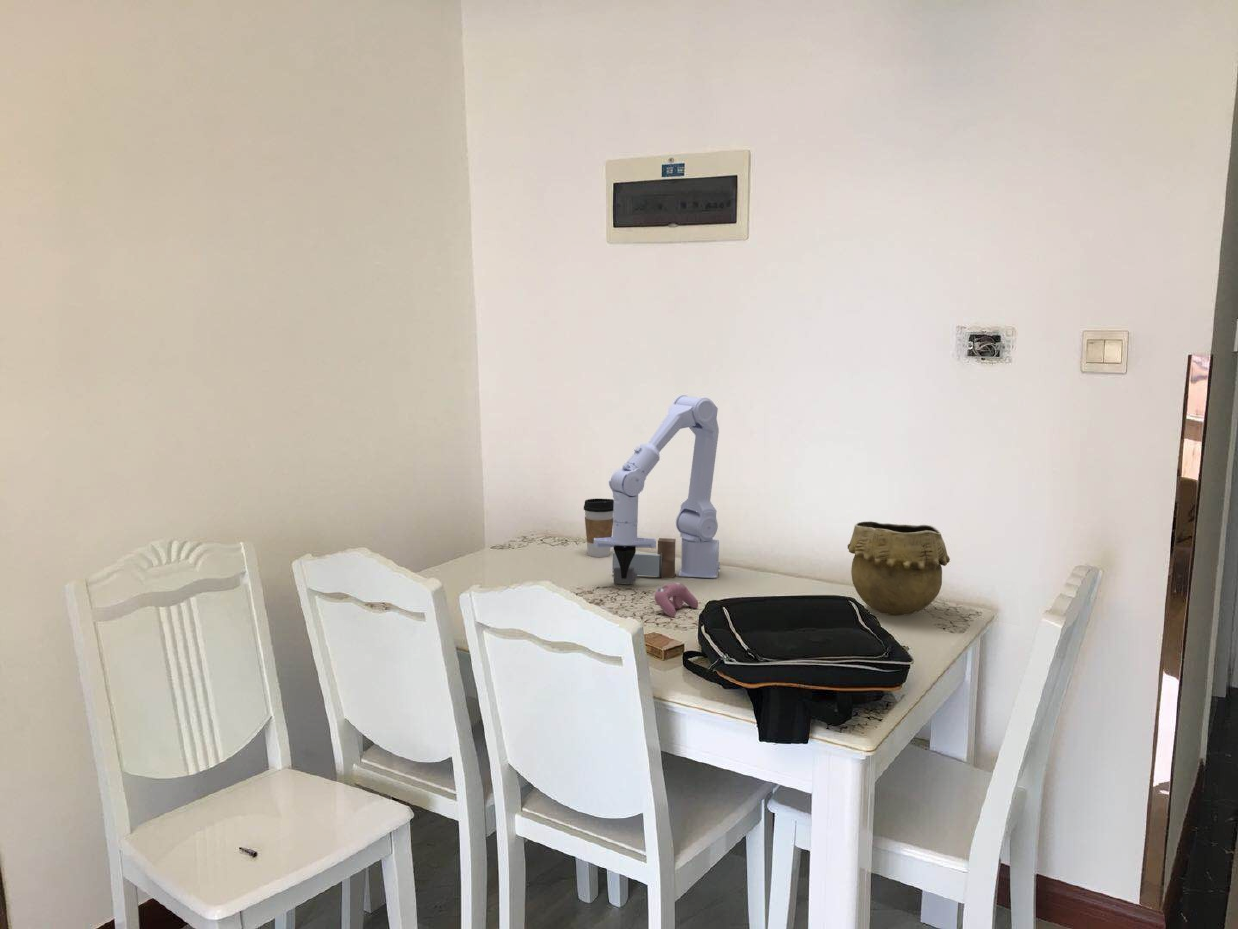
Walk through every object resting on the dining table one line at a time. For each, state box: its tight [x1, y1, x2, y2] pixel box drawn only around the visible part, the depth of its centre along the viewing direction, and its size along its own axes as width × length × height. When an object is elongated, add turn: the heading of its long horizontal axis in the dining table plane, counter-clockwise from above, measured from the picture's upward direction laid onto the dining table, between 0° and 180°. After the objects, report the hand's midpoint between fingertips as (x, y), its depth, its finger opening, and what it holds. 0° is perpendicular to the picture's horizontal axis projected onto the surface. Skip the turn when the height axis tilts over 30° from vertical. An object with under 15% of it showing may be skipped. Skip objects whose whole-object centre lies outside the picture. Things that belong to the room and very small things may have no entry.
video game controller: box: [654, 582, 699, 618], centre depth 208 cm, size 10×5×7 cm, turn 141°
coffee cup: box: [583, 498, 614, 558], centre depth 257 cm, size 8×8×15 cm
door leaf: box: [612, 551, 660, 578], centre depth 236 cm, size 12×2×5 cm, turn 76°
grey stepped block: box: [613, 566, 638, 585], centre depth 232 cm, size 4×7×4 cm, turn 170°
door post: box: [657, 537, 677, 579], centre depth 236 cm, size 4×5×9 cm
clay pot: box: [847, 520, 951, 617], centre depth 207 cm, size 21×21×20 cm
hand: (623, 577), depth 227 cm, fingers closed, pressing on grey stepped block
